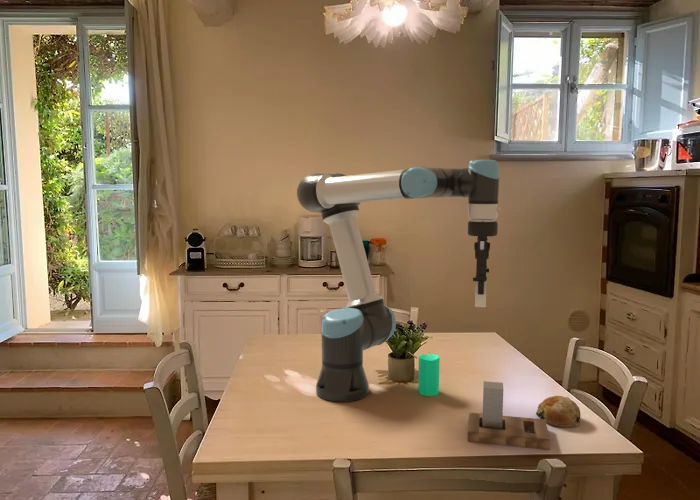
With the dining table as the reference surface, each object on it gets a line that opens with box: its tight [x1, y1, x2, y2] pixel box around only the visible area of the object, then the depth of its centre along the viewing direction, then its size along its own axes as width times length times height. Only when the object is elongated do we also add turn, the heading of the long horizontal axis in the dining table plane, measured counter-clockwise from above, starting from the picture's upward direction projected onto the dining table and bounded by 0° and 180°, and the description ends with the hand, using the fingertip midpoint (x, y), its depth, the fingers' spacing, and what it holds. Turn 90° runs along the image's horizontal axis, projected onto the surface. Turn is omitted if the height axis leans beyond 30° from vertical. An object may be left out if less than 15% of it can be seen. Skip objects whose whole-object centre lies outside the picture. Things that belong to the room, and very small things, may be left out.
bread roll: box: [535, 395, 581, 428], centre depth 142 cm, size 10×10×8 cm
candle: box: [417, 353, 440, 397], centre depth 161 cm, size 6×6×12 cm
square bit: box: [481, 380, 504, 430], centre depth 134 cm, size 4×4×12 cm
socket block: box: [467, 412, 551, 451], centre depth 134 cm, size 18×11×2 cm, turn 76°
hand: (480, 301), depth 148 cm, fingers open, 13 cm apart
